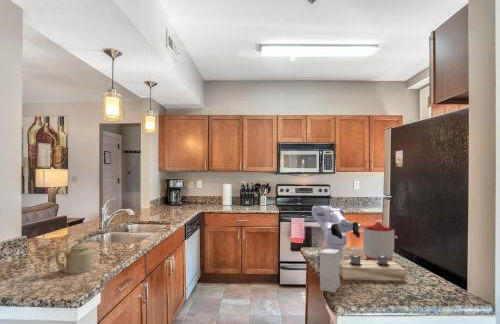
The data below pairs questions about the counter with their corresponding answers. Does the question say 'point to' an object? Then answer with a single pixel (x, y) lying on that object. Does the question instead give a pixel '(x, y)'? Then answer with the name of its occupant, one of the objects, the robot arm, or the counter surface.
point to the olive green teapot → (77, 258)
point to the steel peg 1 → (355, 260)
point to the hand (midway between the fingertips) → (350, 236)
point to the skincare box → (329, 270)
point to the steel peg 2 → (382, 260)
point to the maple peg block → (371, 271)
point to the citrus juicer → (378, 241)
